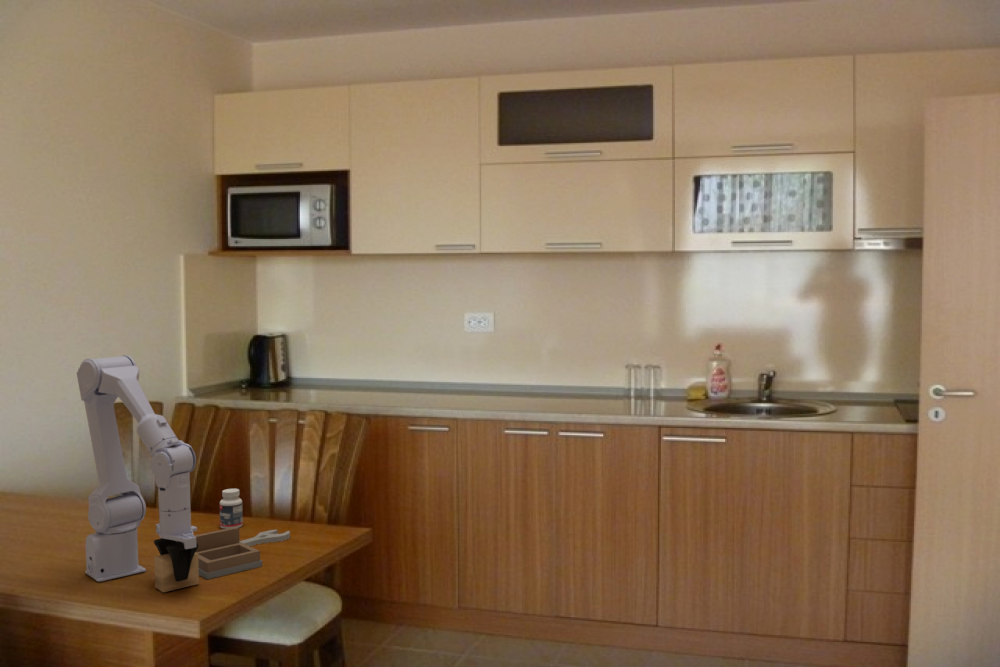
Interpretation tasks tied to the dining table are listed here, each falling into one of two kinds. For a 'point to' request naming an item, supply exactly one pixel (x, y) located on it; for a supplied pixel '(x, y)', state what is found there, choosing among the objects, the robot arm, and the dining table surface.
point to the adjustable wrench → (267, 537)
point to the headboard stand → (224, 554)
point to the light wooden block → (166, 574)
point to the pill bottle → (231, 509)
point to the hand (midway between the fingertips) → (176, 577)
